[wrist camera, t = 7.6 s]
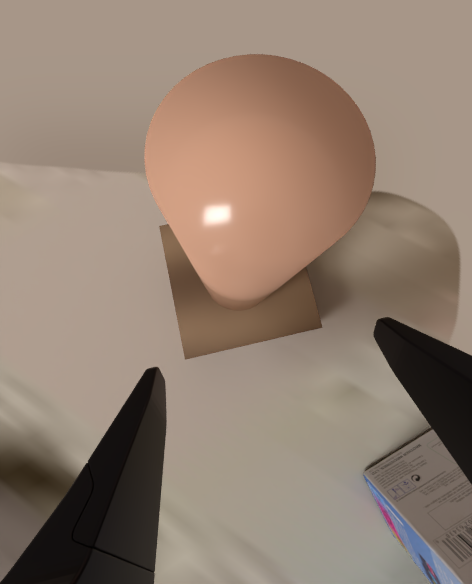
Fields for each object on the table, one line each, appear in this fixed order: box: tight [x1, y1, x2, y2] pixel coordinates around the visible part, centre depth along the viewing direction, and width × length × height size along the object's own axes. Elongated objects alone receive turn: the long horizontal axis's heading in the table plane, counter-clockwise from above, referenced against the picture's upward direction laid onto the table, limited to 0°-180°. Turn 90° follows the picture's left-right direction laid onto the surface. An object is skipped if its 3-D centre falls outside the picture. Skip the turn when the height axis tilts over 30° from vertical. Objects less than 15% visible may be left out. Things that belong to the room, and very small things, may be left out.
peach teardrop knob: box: [145, 54, 376, 311], centre depth 12 cm, size 5×5×13 cm
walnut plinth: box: [159, 224, 322, 359], centre depth 20 cm, size 10×10×3 cm
